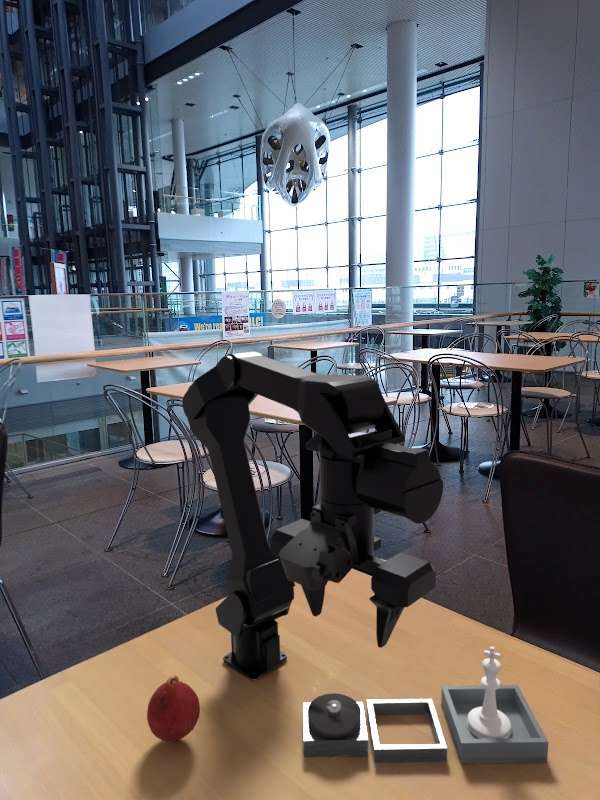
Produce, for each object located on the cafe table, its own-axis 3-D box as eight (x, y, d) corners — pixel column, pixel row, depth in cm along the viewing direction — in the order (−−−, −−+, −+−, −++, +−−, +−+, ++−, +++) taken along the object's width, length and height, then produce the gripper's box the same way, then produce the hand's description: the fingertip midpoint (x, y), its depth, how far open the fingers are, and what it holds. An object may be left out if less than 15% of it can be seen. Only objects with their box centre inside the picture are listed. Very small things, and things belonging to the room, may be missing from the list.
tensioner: (303, 763, 64) (303, 730, 64) (303, 712, 72) (303, 682, 71) (447, 761, 64) (447, 728, 63) (431, 710, 72) (432, 680, 71)
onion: (175, 767, 64) (171, 701, 63) (138, 746, 67) (133, 683, 66) (211, 733, 69) (208, 671, 67) (174, 715, 72) (170, 655, 70)
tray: (460, 763, 64) (461, 743, 63) (441, 704, 73) (441, 686, 72) (547, 762, 64) (548, 741, 63) (516, 703, 73) (517, 685, 72)
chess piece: (508, 748, 65) (513, 666, 63) (462, 734, 67) (465, 654, 65) (514, 718, 69) (518, 641, 67) (470, 706, 71) (473, 630, 69)
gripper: (231, 496, 64) (237, 629, 67) (373, 544, 51) (372, 706, 54) (302, 471, 72) (305, 591, 75) (440, 508, 59) (436, 650, 62)
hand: (348, 629), depth 66 cm, fingers open, 9 cm apart
